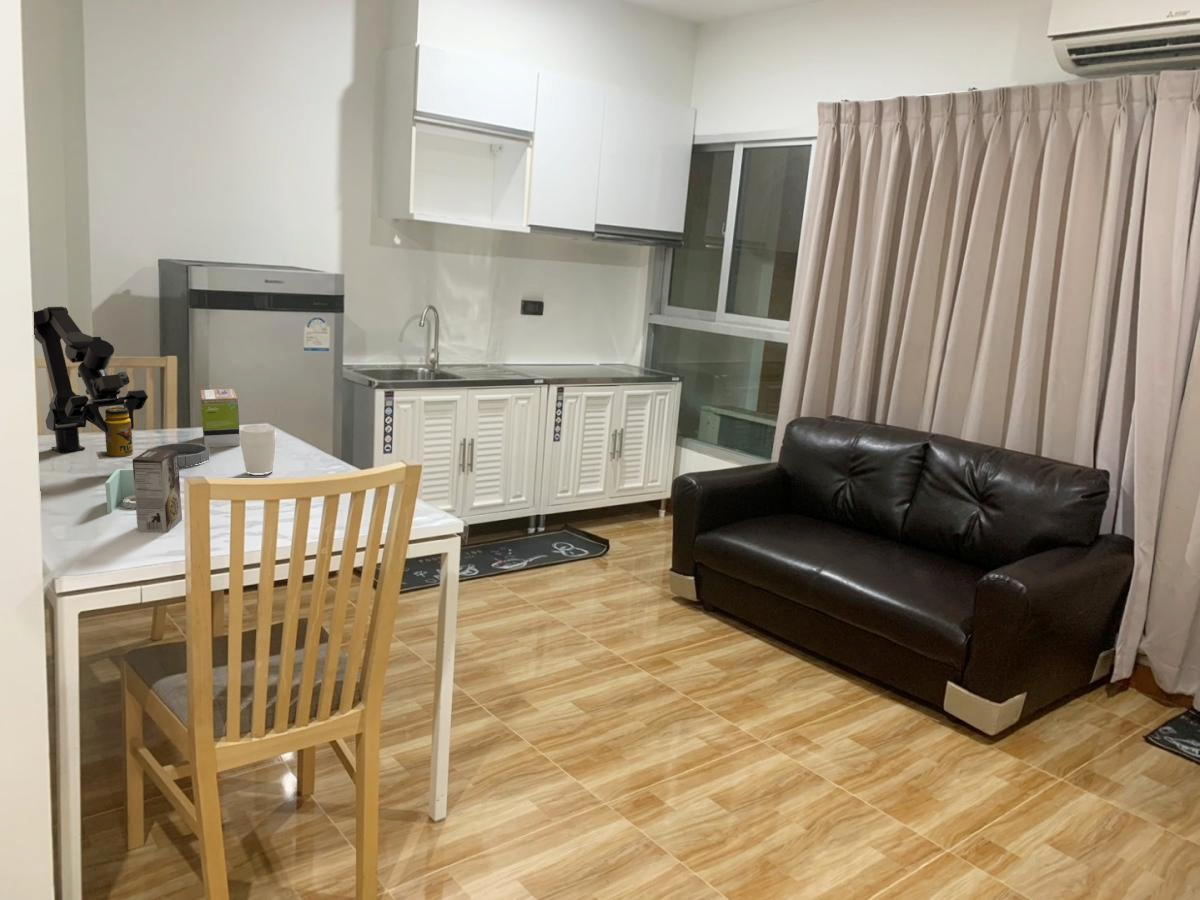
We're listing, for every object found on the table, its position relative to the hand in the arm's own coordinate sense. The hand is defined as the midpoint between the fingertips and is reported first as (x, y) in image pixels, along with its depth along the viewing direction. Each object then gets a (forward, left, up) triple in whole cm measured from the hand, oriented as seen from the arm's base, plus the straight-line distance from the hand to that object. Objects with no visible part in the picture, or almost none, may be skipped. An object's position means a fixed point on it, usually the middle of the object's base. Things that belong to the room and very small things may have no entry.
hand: (119, 430), depth 233 cm
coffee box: (+45, -13, -12) cm, 48 cm away
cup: (+21, +26, -12) cm, 35 cm away
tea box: (-17, +37, -12) cm, 43 cm away
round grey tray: (-4, +17, -12) cm, 21 cm away
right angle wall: (+27, -8, -12) cm, 31 cm away
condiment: (-1, -1, -7) cm, 7 cm away
